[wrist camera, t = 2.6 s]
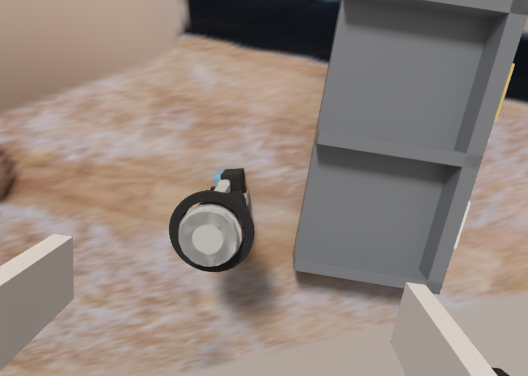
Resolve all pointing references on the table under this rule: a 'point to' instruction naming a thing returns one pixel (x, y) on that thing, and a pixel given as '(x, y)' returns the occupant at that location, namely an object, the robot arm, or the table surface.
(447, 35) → the gray divided compartment tray
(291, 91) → the table surface
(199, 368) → the table surface
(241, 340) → the table surface
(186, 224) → the push button
